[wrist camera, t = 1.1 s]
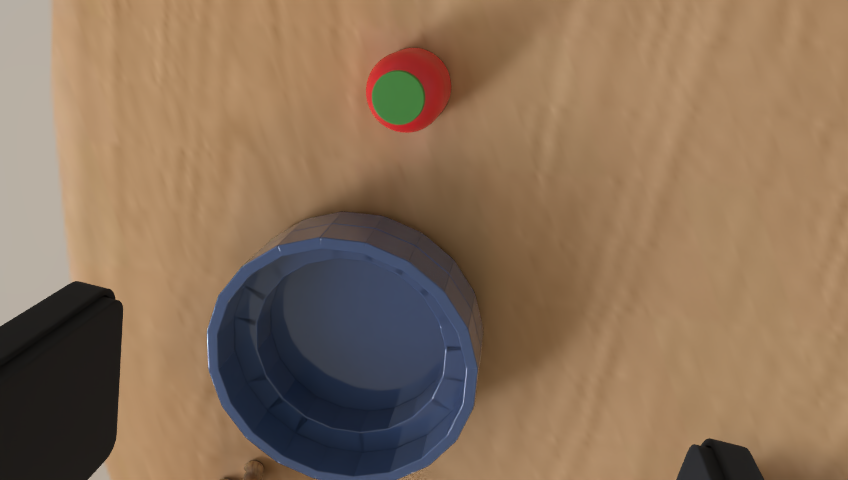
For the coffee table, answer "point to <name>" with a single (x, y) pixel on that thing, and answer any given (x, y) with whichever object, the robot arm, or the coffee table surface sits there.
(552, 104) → the coffee table surface
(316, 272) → the bowl
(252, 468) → the tan animal figure
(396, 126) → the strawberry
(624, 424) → the coffee table surface
